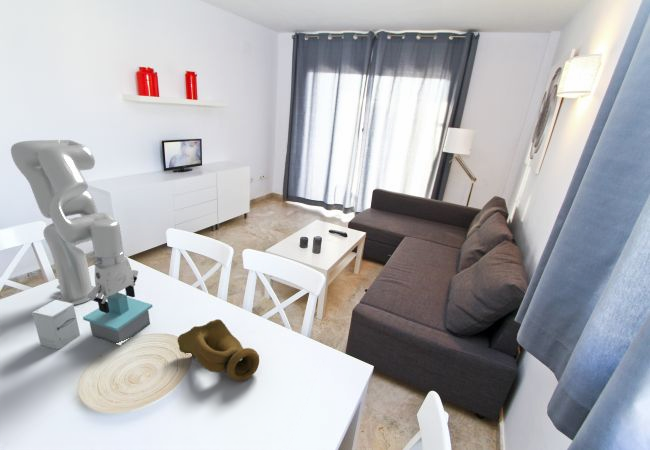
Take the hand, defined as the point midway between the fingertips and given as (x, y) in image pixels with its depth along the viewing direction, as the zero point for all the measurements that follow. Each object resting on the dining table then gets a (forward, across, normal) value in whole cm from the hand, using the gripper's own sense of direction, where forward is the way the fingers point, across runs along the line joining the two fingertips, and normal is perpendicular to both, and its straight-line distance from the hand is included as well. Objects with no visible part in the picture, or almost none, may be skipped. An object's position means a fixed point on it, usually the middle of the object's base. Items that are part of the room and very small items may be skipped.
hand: (118, 303), depth 104 cm
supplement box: (+11, -11, +13) cm, 21 cm away
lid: (+5, 0, 0) cm, 5 cm away
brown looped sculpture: (+12, 0, -38) cm, 40 cm away
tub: (+11, 0, 0) cm, 11 cm away
